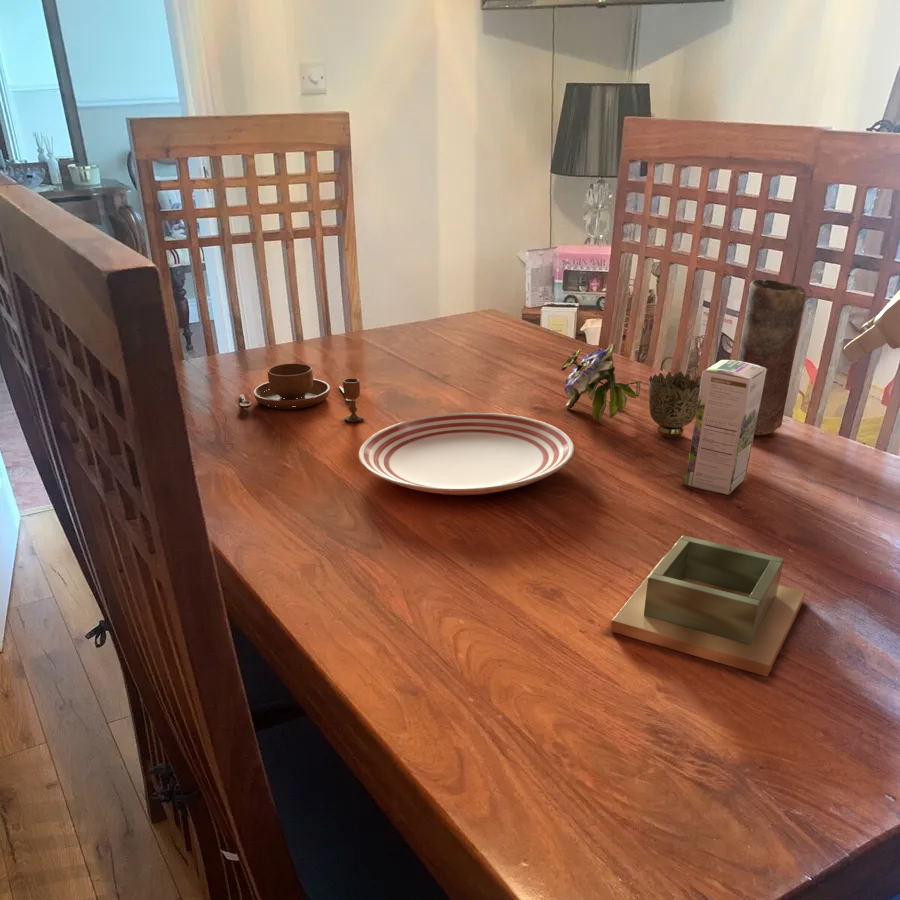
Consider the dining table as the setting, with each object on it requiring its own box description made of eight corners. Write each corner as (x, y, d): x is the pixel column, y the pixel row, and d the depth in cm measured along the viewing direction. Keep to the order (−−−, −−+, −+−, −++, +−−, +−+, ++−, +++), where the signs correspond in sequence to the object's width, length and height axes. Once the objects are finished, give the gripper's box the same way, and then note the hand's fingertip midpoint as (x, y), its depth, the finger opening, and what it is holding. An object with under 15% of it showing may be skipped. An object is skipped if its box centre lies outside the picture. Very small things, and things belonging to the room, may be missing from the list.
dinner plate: (321, 493, 105) (319, 468, 104) (411, 422, 127) (411, 400, 126) (537, 528, 97) (538, 501, 95) (594, 445, 118) (596, 421, 117)
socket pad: (803, 601, 82) (814, 554, 80) (767, 677, 72) (778, 624, 70) (661, 566, 89) (667, 521, 86) (610, 631, 79) (615, 582, 76)
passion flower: (569, 442, 134) (553, 368, 135) (638, 427, 134) (622, 353, 135) (575, 423, 123) (557, 343, 124) (650, 407, 123) (632, 326, 123)
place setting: (340, 383, 144) (337, 347, 141) (369, 420, 128) (366, 381, 125) (234, 394, 140) (229, 358, 137) (250, 435, 123) (244, 395, 120)
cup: (708, 437, 120) (716, 380, 116) (671, 448, 117) (678, 390, 113) (668, 422, 126) (675, 368, 122) (632, 433, 122) (637, 377, 118)
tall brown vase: (743, 418, 127) (767, 275, 117) (790, 429, 123) (819, 282, 112) (715, 431, 123) (738, 283, 112) (763, 443, 118) (791, 291, 108)
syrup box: (701, 471, 110) (718, 357, 103) (747, 481, 107) (768, 365, 100) (683, 485, 106) (700, 368, 99) (730, 497, 103) (751, 377, 96)
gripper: (978, 215, 90) (856, 302, 99) (958, 242, 75) (817, 341, 84) (1013, 264, 90) (888, 346, 100) (1000, 301, 75) (855, 393, 85)
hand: (855, 344), depth 92 cm, fingers open, 8 cm apart
